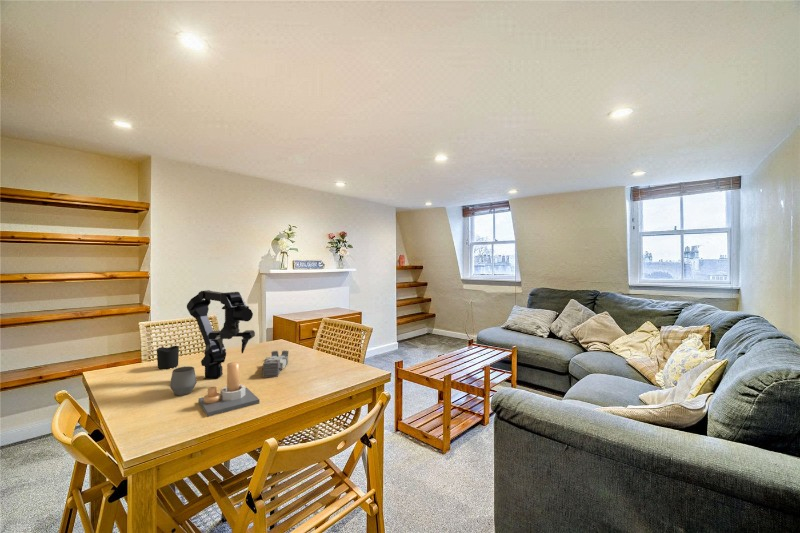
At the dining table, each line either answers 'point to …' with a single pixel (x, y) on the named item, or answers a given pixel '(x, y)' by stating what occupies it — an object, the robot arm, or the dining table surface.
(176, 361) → the pen holder
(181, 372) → the cup
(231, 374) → the tan peg
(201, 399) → the octagonal socket plate
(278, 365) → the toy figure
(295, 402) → the dining table surface
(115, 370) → the dining table surface
